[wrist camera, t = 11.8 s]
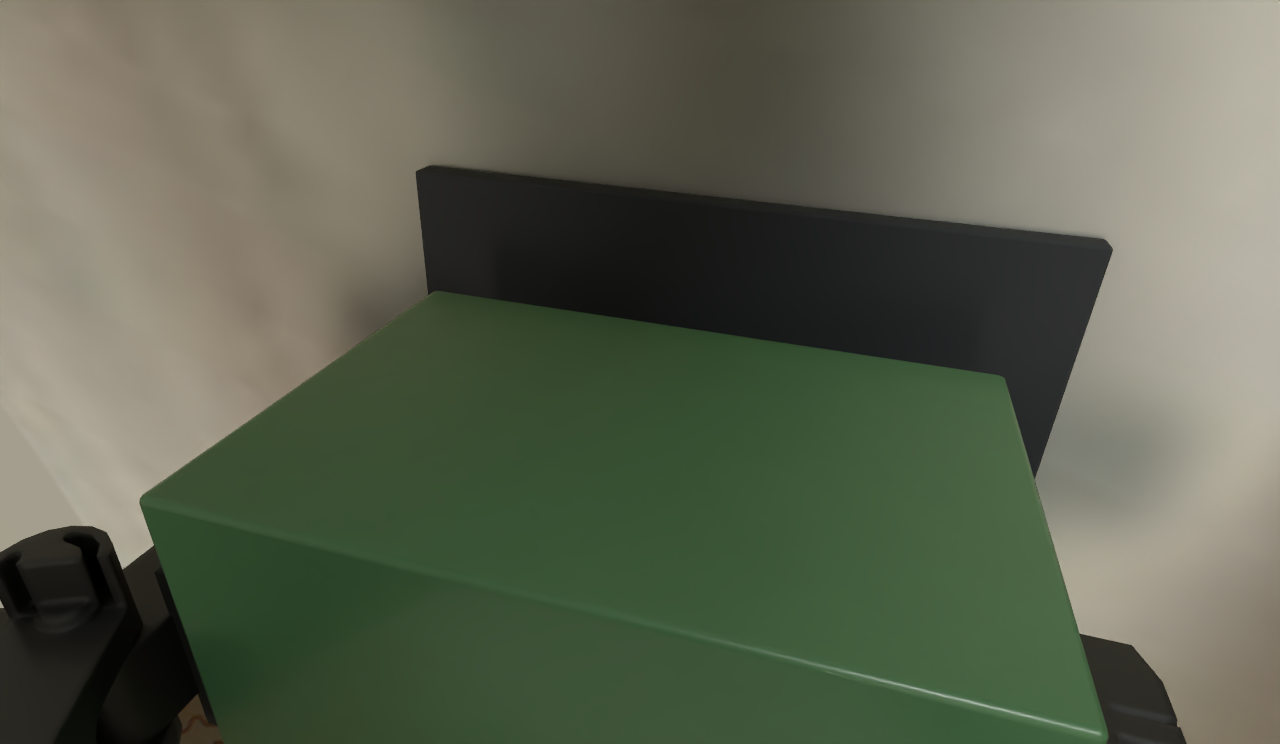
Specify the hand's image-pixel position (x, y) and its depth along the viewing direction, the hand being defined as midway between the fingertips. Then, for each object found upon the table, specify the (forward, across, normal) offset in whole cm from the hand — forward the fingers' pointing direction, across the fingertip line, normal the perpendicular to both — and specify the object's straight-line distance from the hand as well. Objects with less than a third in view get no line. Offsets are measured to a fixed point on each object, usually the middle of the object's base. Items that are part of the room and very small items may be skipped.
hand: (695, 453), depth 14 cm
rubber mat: (+2, 0, 0) cm, 2 cm away
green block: (-1, 0, 0) cm, 1 cm away
